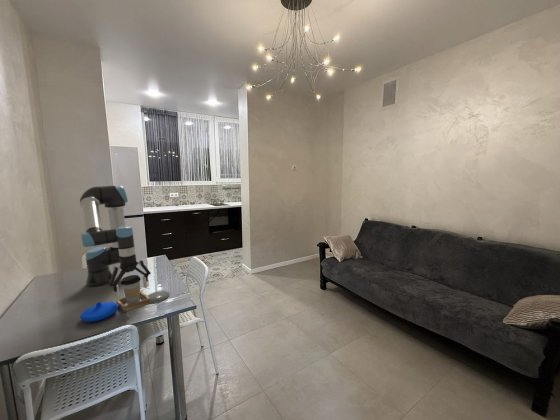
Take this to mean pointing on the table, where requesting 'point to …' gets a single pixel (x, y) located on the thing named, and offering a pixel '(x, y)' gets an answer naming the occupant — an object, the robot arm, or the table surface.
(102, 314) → the blue spouted lid
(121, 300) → the wooden square frame
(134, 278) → the coffee cup
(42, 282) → the table surface
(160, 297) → the grey round plate
